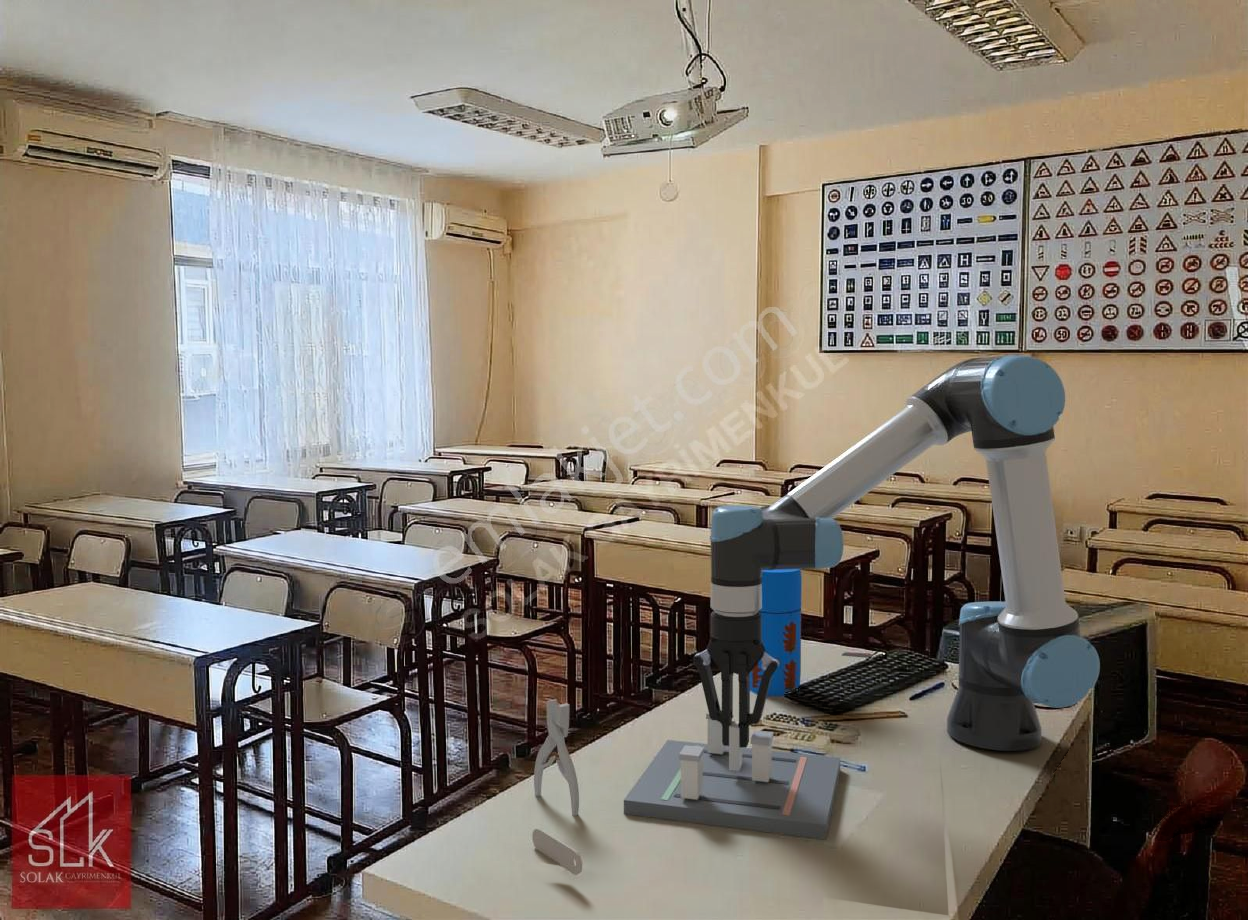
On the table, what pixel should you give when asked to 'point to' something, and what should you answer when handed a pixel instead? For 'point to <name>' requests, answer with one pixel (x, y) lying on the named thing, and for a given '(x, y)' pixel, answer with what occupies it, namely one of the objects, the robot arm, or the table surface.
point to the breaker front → (691, 771)
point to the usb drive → (856, 654)
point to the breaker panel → (741, 792)
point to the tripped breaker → (761, 755)
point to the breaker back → (715, 736)
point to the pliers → (557, 732)
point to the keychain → (557, 851)
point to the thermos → (780, 630)
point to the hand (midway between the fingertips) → (735, 766)
